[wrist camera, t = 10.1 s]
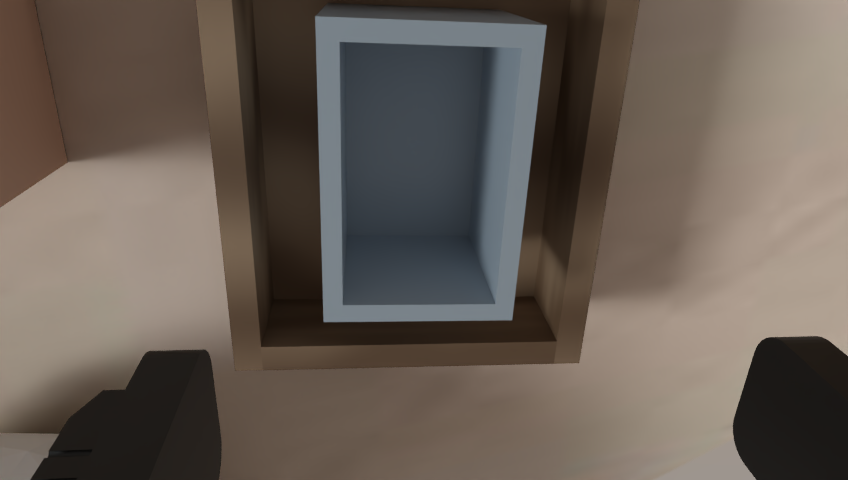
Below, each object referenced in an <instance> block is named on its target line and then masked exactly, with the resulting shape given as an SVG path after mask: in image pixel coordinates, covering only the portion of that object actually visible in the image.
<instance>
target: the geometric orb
mask: <svg viewBox="0 0 848 480" xmlns="http://www.w3.org/2000/svg"><path fill="white" fill-rule="evenodd" d="M58 435H59V434H39V433H0V480H30V479H31V478H32V476H33V475H34V473H35V472H36V470H37V468H38V467H39V465H40V464H41V462H42V460H43V459H44V458H48V454H49V452H48V451H49V449H50V448H51V446H52V445H53V443H54V441H55V440H56V438H57V437H58Z"/></svg>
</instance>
